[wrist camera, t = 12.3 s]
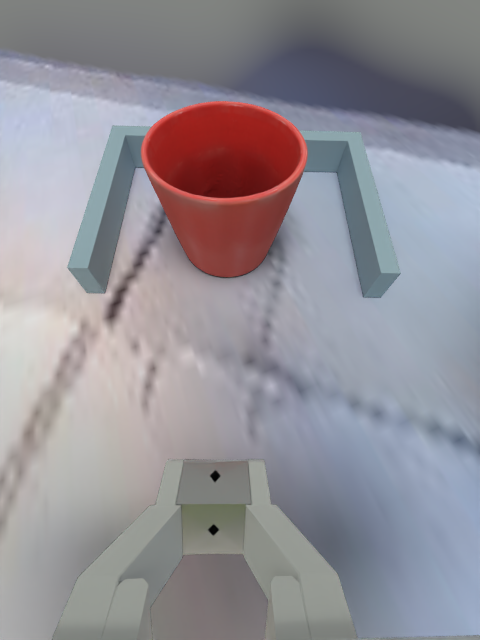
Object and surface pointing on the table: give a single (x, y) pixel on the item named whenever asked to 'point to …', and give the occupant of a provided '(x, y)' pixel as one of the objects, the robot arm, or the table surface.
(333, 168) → the tray frame
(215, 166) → the flower pot
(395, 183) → the table surface
